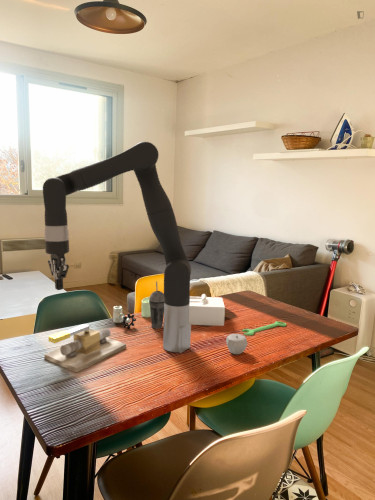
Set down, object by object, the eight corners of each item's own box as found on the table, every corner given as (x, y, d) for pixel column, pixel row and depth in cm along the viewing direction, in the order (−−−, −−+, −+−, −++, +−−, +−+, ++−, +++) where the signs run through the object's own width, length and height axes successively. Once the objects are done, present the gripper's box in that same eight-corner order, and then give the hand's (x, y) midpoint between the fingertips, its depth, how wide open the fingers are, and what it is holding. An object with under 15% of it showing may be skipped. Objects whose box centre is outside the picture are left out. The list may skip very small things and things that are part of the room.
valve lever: (85, 330, 132) (85, 322, 132) (91, 332, 130) (91, 324, 130) (48, 344, 119) (48, 336, 119) (54, 347, 118) (54, 338, 117)
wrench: (238, 334, 157) (247, 338, 152) (238, 329, 156) (247, 334, 152) (279, 322, 170) (289, 326, 166) (280, 318, 170) (289, 322, 166)
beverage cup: (168, 325, 160) (169, 280, 157) (160, 331, 154) (161, 284, 151) (153, 322, 163) (154, 278, 160) (145, 327, 157) (145, 281, 154)
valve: (108, 321, 163) (122, 330, 153) (108, 307, 162) (122, 315, 152) (122, 318, 167) (136, 327, 158) (122, 304, 166) (136, 312, 156)
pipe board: (126, 347, 137) (126, 328, 136) (76, 372, 118) (76, 350, 117) (95, 337, 146) (95, 318, 144) (44, 358, 126) (43, 337, 125)
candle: (147, 318, 168) (148, 300, 167) (139, 315, 171) (139, 298, 169) (154, 315, 172) (154, 298, 171) (146, 313, 175) (146, 296, 174)
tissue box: (223, 326, 163) (225, 302, 161) (166, 324, 163) (167, 299, 161) (221, 315, 177) (222, 292, 175) (168, 313, 177) (169, 290, 175)
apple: (233, 359, 131) (234, 341, 130) (220, 350, 138) (221, 333, 137) (251, 355, 135) (252, 337, 134) (238, 346, 142) (239, 330, 141)
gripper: (75, 240, 122) (77, 291, 124) (60, 235, 132) (62, 283, 135) (52, 242, 117) (55, 295, 120) (38, 237, 127) (41, 286, 130)
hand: (59, 289), depth 127 cm, fingers closed
